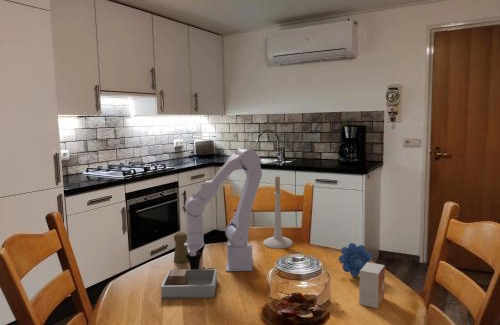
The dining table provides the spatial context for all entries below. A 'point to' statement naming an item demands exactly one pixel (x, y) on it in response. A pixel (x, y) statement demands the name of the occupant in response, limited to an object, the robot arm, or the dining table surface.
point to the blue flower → (354, 258)
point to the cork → (180, 248)
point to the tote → (191, 285)
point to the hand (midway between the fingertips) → (196, 268)
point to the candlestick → (277, 224)
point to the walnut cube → (178, 277)
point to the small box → (371, 284)
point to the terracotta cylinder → (200, 262)
